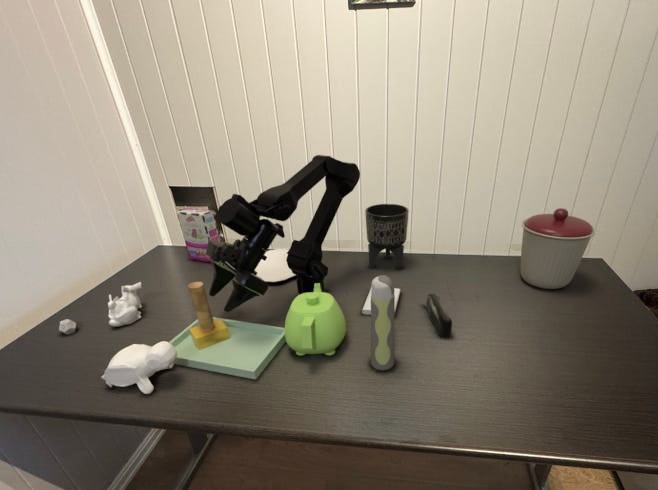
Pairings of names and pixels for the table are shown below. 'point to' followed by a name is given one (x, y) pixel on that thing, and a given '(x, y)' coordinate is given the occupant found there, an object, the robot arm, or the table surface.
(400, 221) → the planter
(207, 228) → the candy bar box
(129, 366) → the white turtle figurine
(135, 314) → the white figurine
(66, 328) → the game die
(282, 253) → the plate
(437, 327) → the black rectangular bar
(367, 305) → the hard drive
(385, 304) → the grey green cylinder
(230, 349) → the tray
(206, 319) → the sponge wand
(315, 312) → the teapot
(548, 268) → the canister
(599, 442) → the table surface
